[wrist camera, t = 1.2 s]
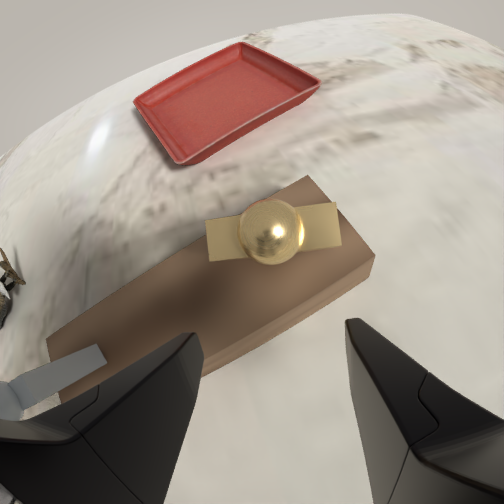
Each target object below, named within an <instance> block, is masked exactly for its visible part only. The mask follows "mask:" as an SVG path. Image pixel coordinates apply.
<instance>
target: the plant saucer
mask: <svg viewBox="0 0 504 504" xmlns="http://www.w3.org/2000/svg"><path fill="white" fill-rule="evenodd" d="M321 84H322V81H321V80H320V79H318V78H316V77H314V76H312V75H311V74H309V73H307V72H305V71H303V70H301V69H300V68H298V67H296V66H294V65H292V64H290V63H288V62H286V61H284V60H282V59H280V58H278V57H276V56H274V55H272V54H270V53H267V52H265V51H263V50H261V49H259V48H256V47H254V46H252V45H250V44H247V43H245V42H238V43H235V44H233V45H231V46H228V47H226V48H224V49H222V50H220V51H218V52H216V53H214V54H212V55H210V56H208V57H206V58H204V59H202V60H200V61H198V62H196V63H194V64H192V65H190V66H188V67H186V68H184V69H183V70H181V71H179V72H177V73H175V74H174V75H172V76H170V77H168V78H167V79H165V80H163V81H162V82H160V83H158V84H157V85H155V86H153V87H152V88H150V89H149V90H147V91H145V92H144V93H142V94H141V95H139V96H138V97H136V98H135V99H134V101H133V103H134V105H135V106H136V108H137V109H138V111H139V112H140V114H141V115H142V117H143V118H144V120H145V121H146V122H147V124H148V125H149V127H150V128H151V129H152V131H153V132H154V134H155V135H156V136H157V138H158V139H159V141H160V142H161V144H162V145H163V146H164V148H165V149H166V151H167V152H168V154H169V155H170V157H171V158H172V159H173V161H174V162H175V163H176V164H180V165H190V164H196V163H199V162H202V161H203V160H205V159H206V158H208V157H210V156H211V155H213V154H214V153H216V152H218V151H219V150H221V149H222V148H224V147H226V146H227V145H229V144H230V143H232V142H234V141H235V140H237V139H239V138H240V137H242V136H244V135H245V134H247V133H249V132H250V131H252V130H254V129H256V128H257V127H259V126H261V125H263V124H264V123H266V122H268V121H270V120H271V119H273V118H275V117H277V116H279V115H281V114H282V113H284V112H286V111H288V110H290V109H292V108H293V107H295V106H297V105H299V104H301V103H302V102H304V101H305V100H306V99H307V98H309V97H310V96H311V95H312V94H313V93H314V92H315V91H316V90H317V89H318V88H319V87H320V85H321Z"/></svg>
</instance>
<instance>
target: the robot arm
mask: <svg viewBox="0 0 504 504" xmlns="http://www.w3.org/2000/svg"><path fill="white" fill-rule="evenodd" d="M345 341H346V354H347V363H348V372H349V381H350V390H351V396H352V401H353V405H354V410H355V414H356V418H357V423H358V427H359V432H360V436H361V441H362V446H363V450H364V455H365V460H366V465H367V470H368V475H369V481H370V486H371V491H372V497H373V503H374V504H504V419H502V418H500V417H498V416H496V415H495V414H493V413H491V412H490V411H488V410H486V409H484V408H483V407H481V406H479V405H478V404H476V403H474V402H473V401H471V400H469V399H468V398H466V397H464V396H463V395H461V394H460V393H458V392H457V391H455V390H453V389H452V388H450V387H449V386H448V385H446V384H445V383H444V382H442V381H441V380H440V379H438V378H437V377H436V376H434V375H433V374H432V373H430V372H428V370H426V369H425V368H424V367H423V366H421V365H420V364H419V363H417V362H416V361H415V360H414V359H412V358H411V357H410V356H408V355H407V354H406V353H405V352H403V351H402V350H401V349H399V348H398V347H397V346H395V345H394V344H393V343H392V342H390V341H389V340H388V339H386V338H385V337H384V336H382V335H381V334H380V333H379V332H377V331H376V330H375V329H373V328H372V327H371V326H369V325H368V324H367V323H365V322H364V321H363V320H362V319H360V318H352V319H347V320H345ZM203 363H204V353H203V350H202V347H201V344H200V341H199V338H198V335H197V334H196V333H195V332H183V333H181V334H179V335H178V336H176V337H174V338H173V339H171V340H170V341H168V342H166V343H165V344H163V345H162V346H160V347H158V348H157V349H155V350H154V351H152V352H150V353H149V354H147V355H145V356H144V357H142V358H140V359H139V360H137V361H136V362H134V363H132V364H131V365H129V366H127V367H126V368H124V369H122V370H121V371H119V372H117V373H116V374H114V375H112V376H111V377H109V378H107V379H106V380H104V381H102V382H101V383H100V385H99V384H97V385H95V386H94V387H92V388H90V389H89V390H87V391H85V392H83V393H81V394H80V395H78V396H76V397H74V398H72V399H70V400H68V401H66V402H64V403H62V404H60V405H58V406H56V407H54V408H52V409H50V410H48V411H45V412H43V413H41V414H39V415H37V416H35V417H32V418H30V419H27V420H22V421H10V420H4V419H0V504H163V503H164V500H165V497H166V494H167V491H168V488H169V484H170V481H171V478H172V475H173V472H174V469H175V466H176V462H177V459H178V456H179V453H180V450H181V447H182V444H183V441H184V437H185V434H186V431H187V428H188V425H189V422H190V419H191V416H192V413H193V410H194V406H195V403H196V399H197V395H198V390H199V384H200V379H201V374H202V368H203Z"/></svg>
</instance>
